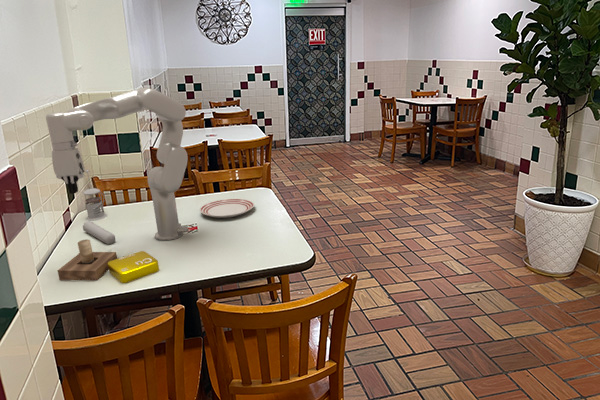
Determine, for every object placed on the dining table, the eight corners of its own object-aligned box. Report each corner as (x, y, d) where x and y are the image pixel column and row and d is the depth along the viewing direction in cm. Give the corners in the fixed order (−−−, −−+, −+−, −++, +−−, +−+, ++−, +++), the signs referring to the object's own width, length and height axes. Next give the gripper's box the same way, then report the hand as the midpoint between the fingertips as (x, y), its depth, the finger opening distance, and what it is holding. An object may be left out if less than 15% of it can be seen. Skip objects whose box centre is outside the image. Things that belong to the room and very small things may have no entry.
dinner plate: (206, 204, 251) (206, 198, 250) (257, 202, 249) (257, 196, 248) (194, 223, 225) (193, 216, 224) (250, 221, 223) (250, 214, 222)
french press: (82, 219, 237) (71, 172, 229) (98, 212, 247) (88, 166, 239) (97, 221, 233) (88, 173, 225) (113, 213, 244) (104, 166, 236)
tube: (118, 234, 206) (94, 220, 222) (106, 234, 202) (83, 220, 219) (116, 245, 206) (93, 231, 223) (104, 246, 202) (81, 231, 219)
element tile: (144, 259, 189) (143, 248, 187) (161, 271, 178) (159, 260, 177) (107, 272, 180) (105, 260, 178) (122, 285, 169) (120, 273, 167)
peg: (98, 267, 183) (92, 239, 179) (92, 272, 179) (86, 244, 175) (87, 267, 184) (81, 239, 180) (81, 272, 179) (74, 244, 176)
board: (117, 261, 188) (116, 251, 187) (97, 280, 173) (95, 270, 172) (83, 260, 190) (81, 252, 188) (59, 280, 175) (57, 270, 173)
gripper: (87, 143, 177) (97, 189, 183) (51, 144, 179) (61, 190, 185) (76, 147, 170) (86, 195, 176) (38, 148, 172) (49, 196, 177)
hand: (73, 192), depth 180 cm, fingers closed
